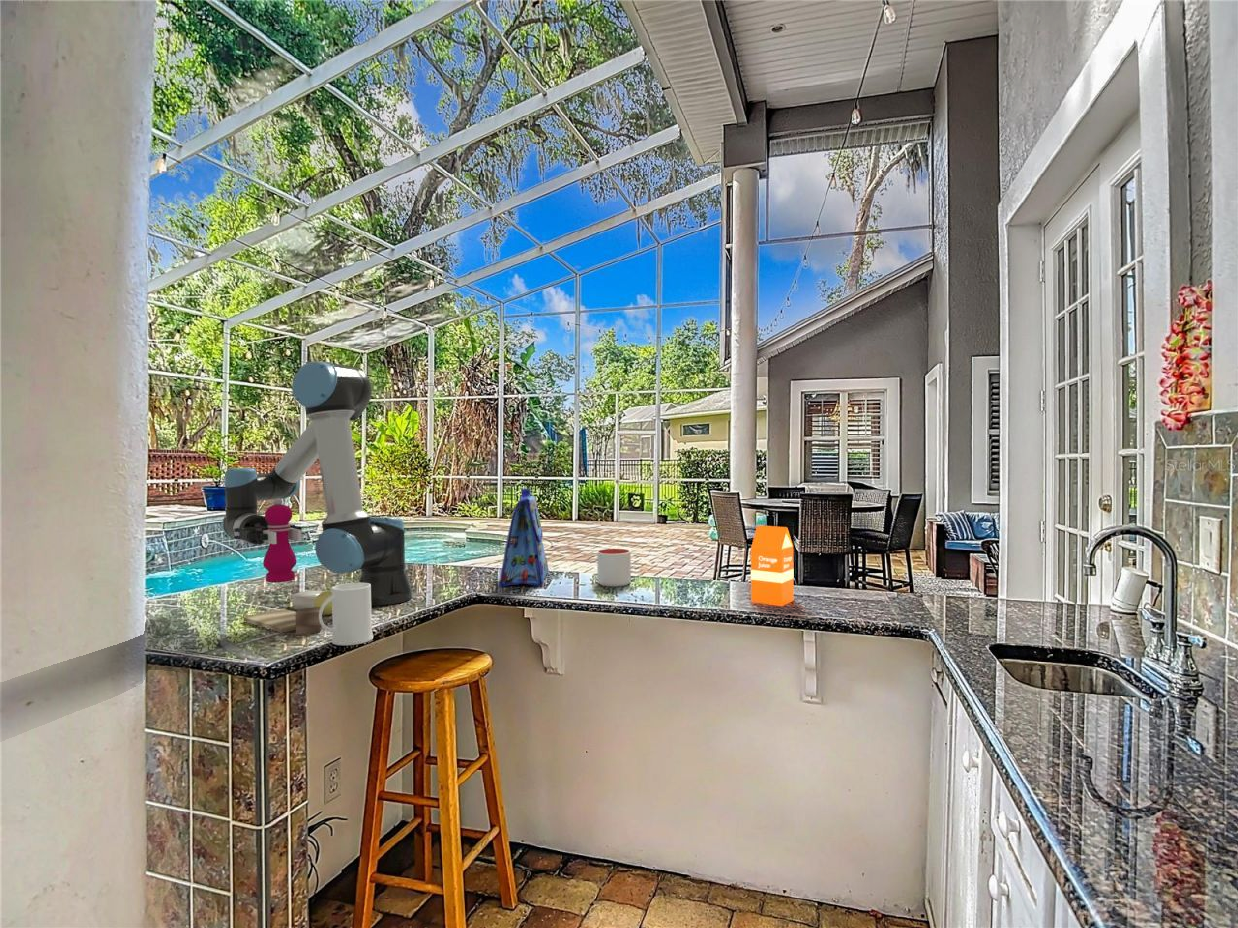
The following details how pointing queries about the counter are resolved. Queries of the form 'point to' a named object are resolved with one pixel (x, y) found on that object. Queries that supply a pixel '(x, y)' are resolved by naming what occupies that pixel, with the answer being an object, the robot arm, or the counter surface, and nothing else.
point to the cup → (614, 567)
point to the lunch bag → (524, 546)
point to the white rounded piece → (305, 599)
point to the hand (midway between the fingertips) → (287, 536)
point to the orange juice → (772, 566)
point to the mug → (350, 614)
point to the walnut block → (307, 621)
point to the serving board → (274, 620)
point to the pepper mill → (279, 544)
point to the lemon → (320, 601)
